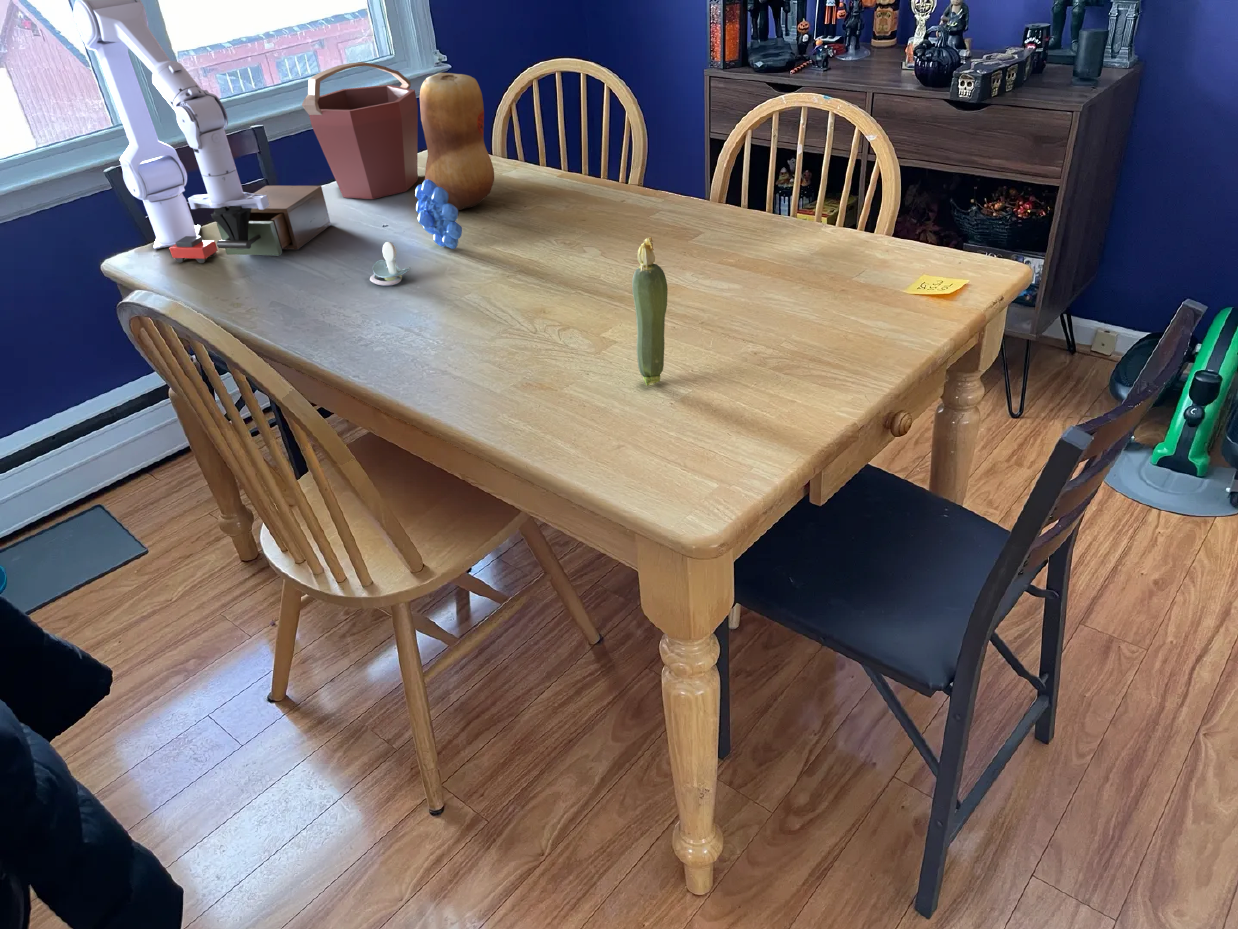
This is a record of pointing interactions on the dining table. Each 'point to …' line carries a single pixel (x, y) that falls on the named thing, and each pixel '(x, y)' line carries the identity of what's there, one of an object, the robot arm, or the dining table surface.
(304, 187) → the cabinet
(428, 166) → the butternut squash
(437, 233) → the grapes
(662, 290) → the vegetable
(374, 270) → the pacifier
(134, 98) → the robot arm
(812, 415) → the dining table surface
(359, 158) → the bucket
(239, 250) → the drawer
